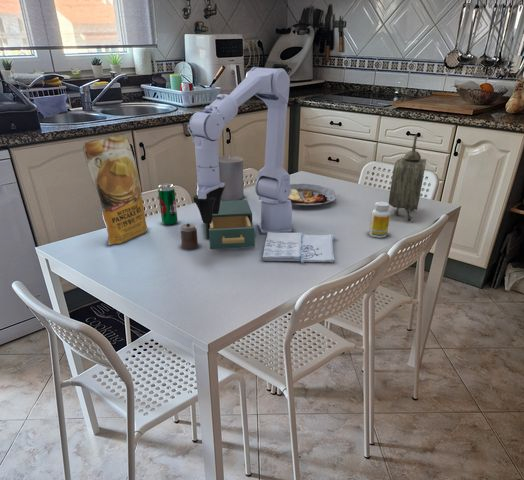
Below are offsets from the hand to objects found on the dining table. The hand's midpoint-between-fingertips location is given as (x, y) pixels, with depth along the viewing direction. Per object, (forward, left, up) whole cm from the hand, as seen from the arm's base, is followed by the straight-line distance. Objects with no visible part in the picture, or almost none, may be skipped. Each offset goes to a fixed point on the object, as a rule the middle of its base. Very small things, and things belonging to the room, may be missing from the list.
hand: (211, 218), depth 129 cm
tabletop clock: (-65, -24, -11) cm, 70 cm away
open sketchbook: (-25, 0, -11) cm, 27 cm away
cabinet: (-6, -19, -10) cm, 22 cm away
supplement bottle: (-51, -8, -11) cm, 52 cm away
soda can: (+12, -28, -11) cm, 32 cm away
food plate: (-36, -46, -11) cm, 59 cm away
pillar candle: (-10, -53, -11) cm, 55 cm away
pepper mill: (+6, -7, -10) cm, 14 cm away
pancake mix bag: (+25, -18, -11) cm, 33 cm away
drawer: (-6, -6, -10) cm, 13 cm away
